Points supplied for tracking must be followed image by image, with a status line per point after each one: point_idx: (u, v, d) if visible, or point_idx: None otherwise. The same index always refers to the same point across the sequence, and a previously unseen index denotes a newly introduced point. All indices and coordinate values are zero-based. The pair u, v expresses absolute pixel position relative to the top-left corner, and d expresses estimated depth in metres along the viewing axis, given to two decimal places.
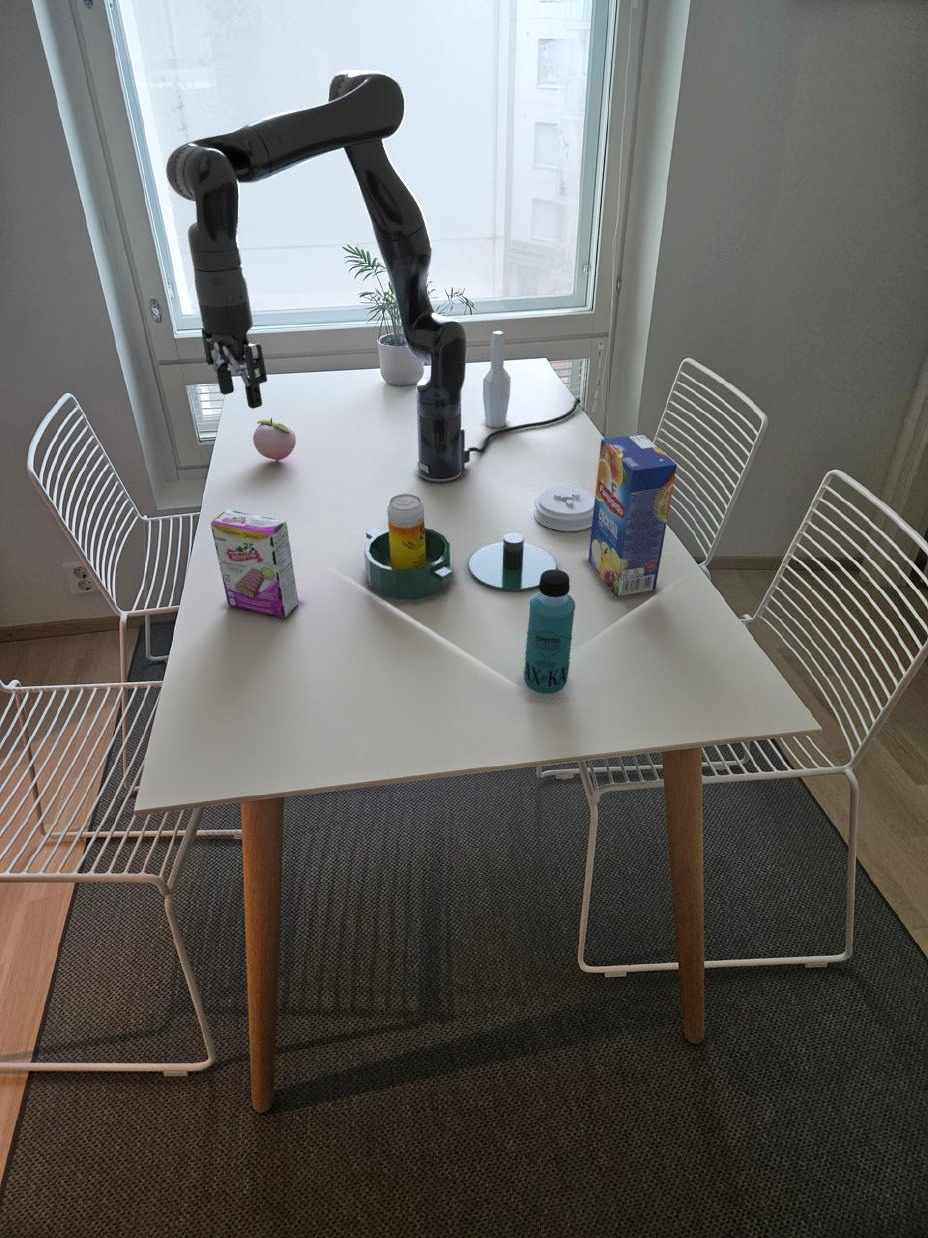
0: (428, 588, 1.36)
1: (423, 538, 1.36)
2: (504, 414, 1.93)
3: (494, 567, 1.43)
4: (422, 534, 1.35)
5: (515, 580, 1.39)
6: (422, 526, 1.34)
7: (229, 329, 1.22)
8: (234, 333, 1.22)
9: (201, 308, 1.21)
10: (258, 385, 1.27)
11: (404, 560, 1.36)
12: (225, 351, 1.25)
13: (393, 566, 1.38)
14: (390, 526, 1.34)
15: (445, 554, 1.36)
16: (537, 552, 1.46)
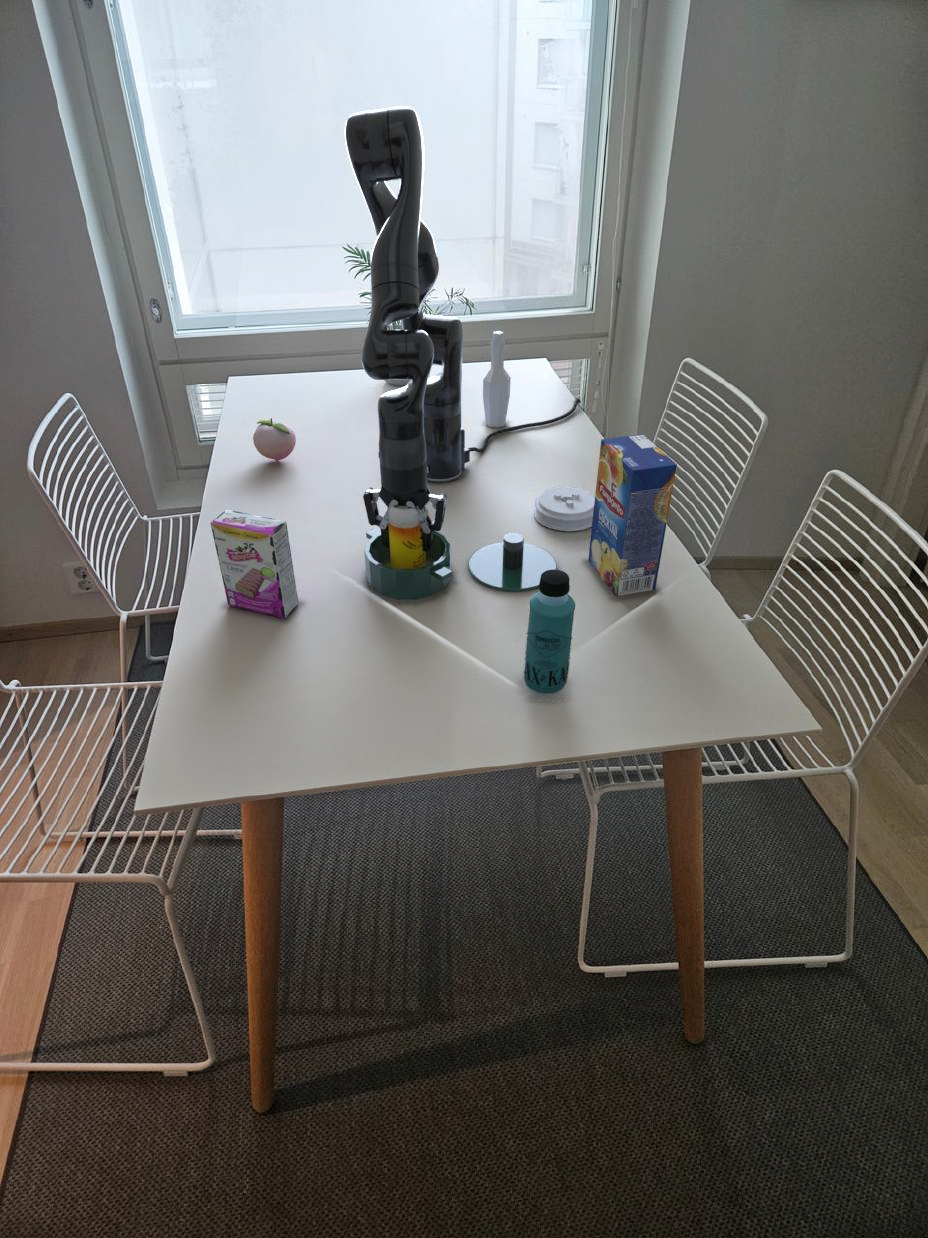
0: (428, 588, 1.36)
1: None
2: (504, 414, 1.93)
3: (494, 567, 1.43)
4: (422, 534, 1.35)
5: (515, 580, 1.39)
6: None
7: (421, 485, 1.28)
8: (424, 487, 1.29)
9: (395, 473, 1.26)
10: None
11: (404, 560, 1.36)
12: (410, 505, 1.31)
13: (393, 566, 1.38)
14: (390, 526, 1.34)
15: (445, 554, 1.36)
16: (537, 552, 1.46)
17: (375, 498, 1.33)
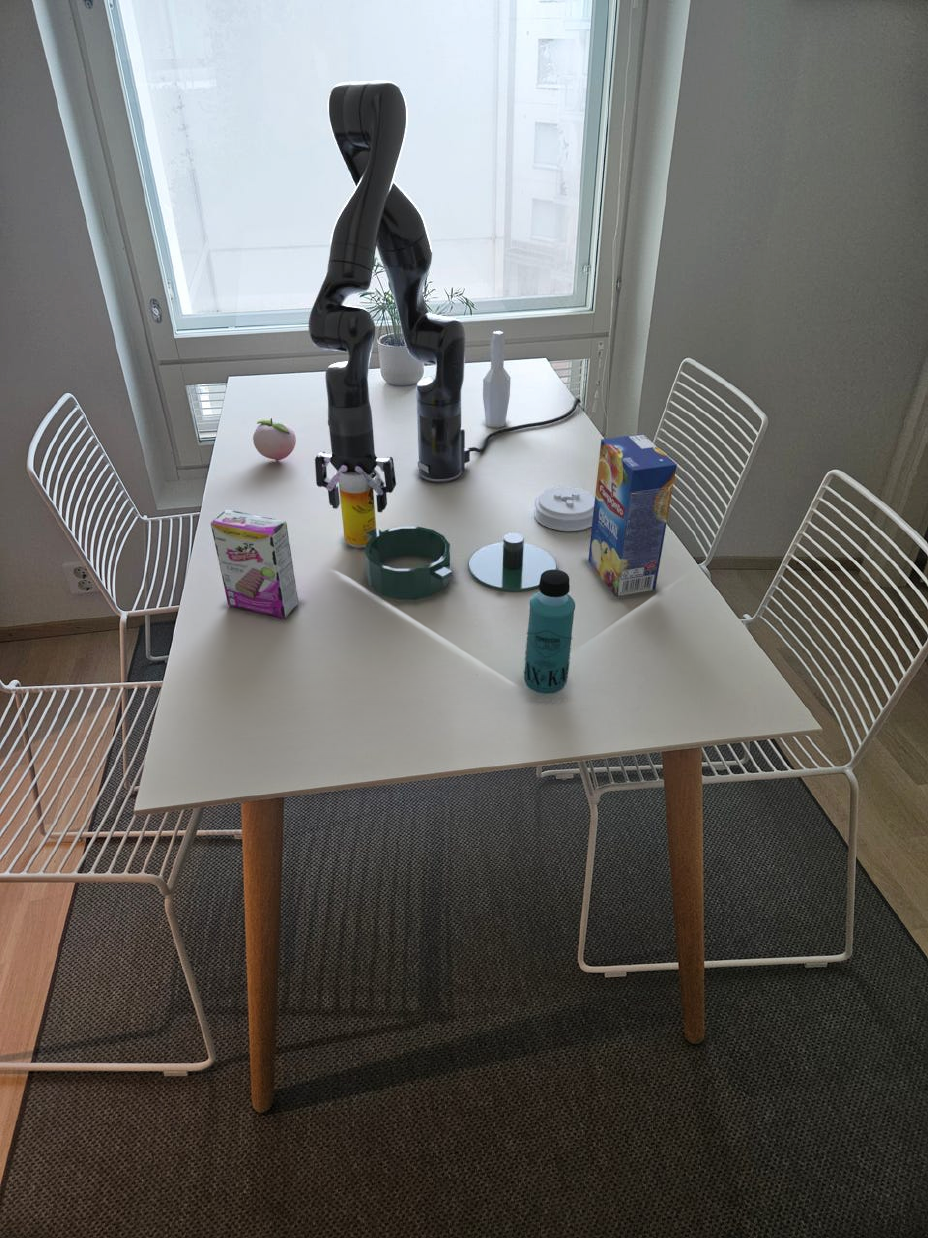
0: (428, 588, 1.36)
1: (372, 503, 1.46)
2: (504, 414, 1.93)
3: (494, 567, 1.43)
4: (371, 499, 1.45)
5: (515, 580, 1.39)
6: (371, 492, 1.45)
7: (368, 451, 1.39)
8: (370, 453, 1.40)
9: (342, 439, 1.36)
10: None
11: (354, 524, 1.47)
12: (358, 470, 1.41)
13: (345, 530, 1.49)
14: (341, 492, 1.44)
15: (445, 554, 1.36)
16: (537, 552, 1.46)
17: (326, 462, 1.43)
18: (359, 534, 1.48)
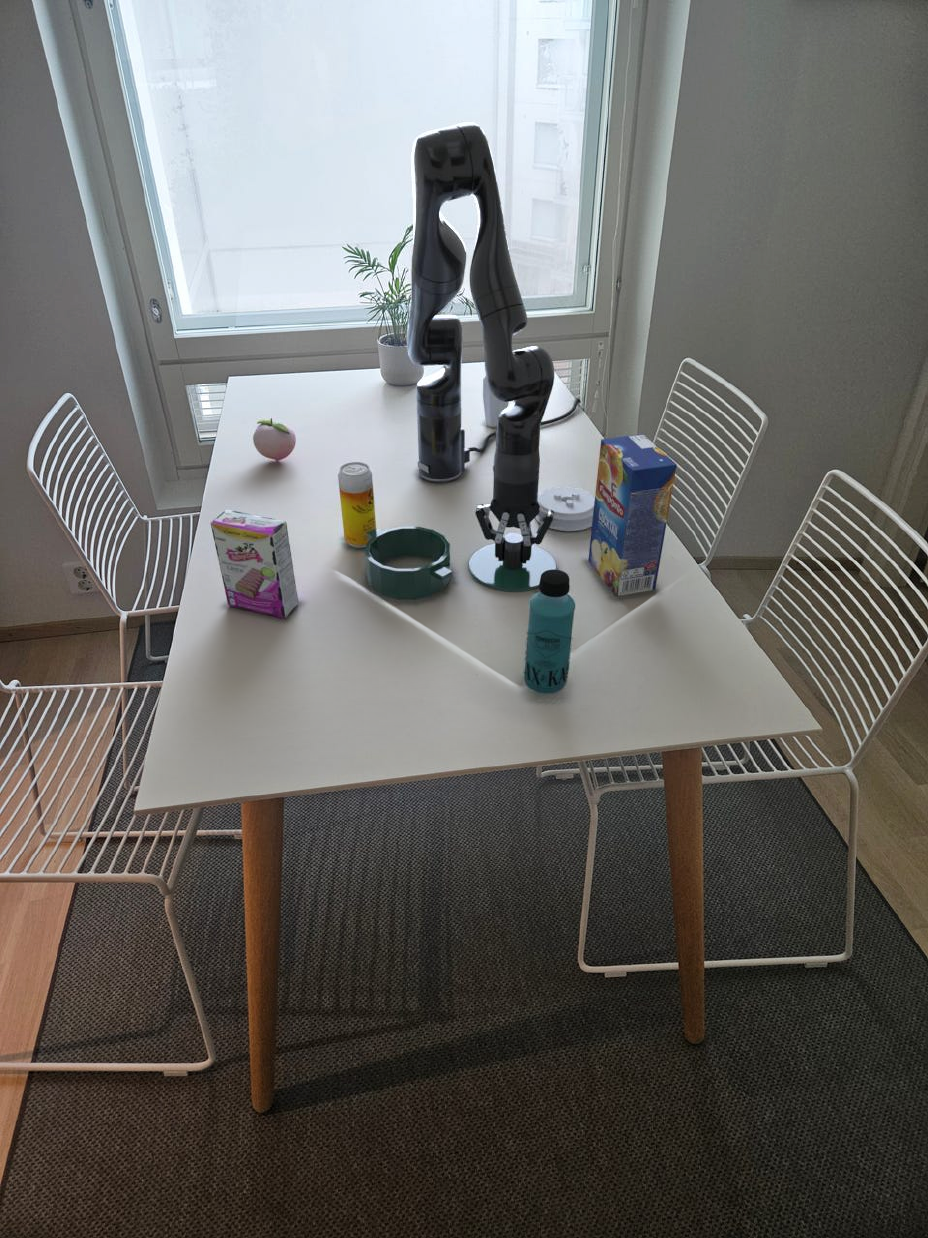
0: (428, 588, 1.36)
1: (372, 503, 1.46)
2: None
3: (494, 567, 1.43)
4: (371, 499, 1.45)
5: (515, 580, 1.39)
6: (370, 492, 1.45)
7: (534, 498, 1.33)
8: (535, 500, 1.34)
9: (510, 487, 1.30)
10: None
11: (354, 524, 1.47)
12: (520, 518, 1.35)
13: (345, 530, 1.49)
14: (341, 492, 1.44)
15: (445, 554, 1.36)
16: (537, 552, 1.46)
17: (487, 513, 1.38)
18: (359, 534, 1.48)
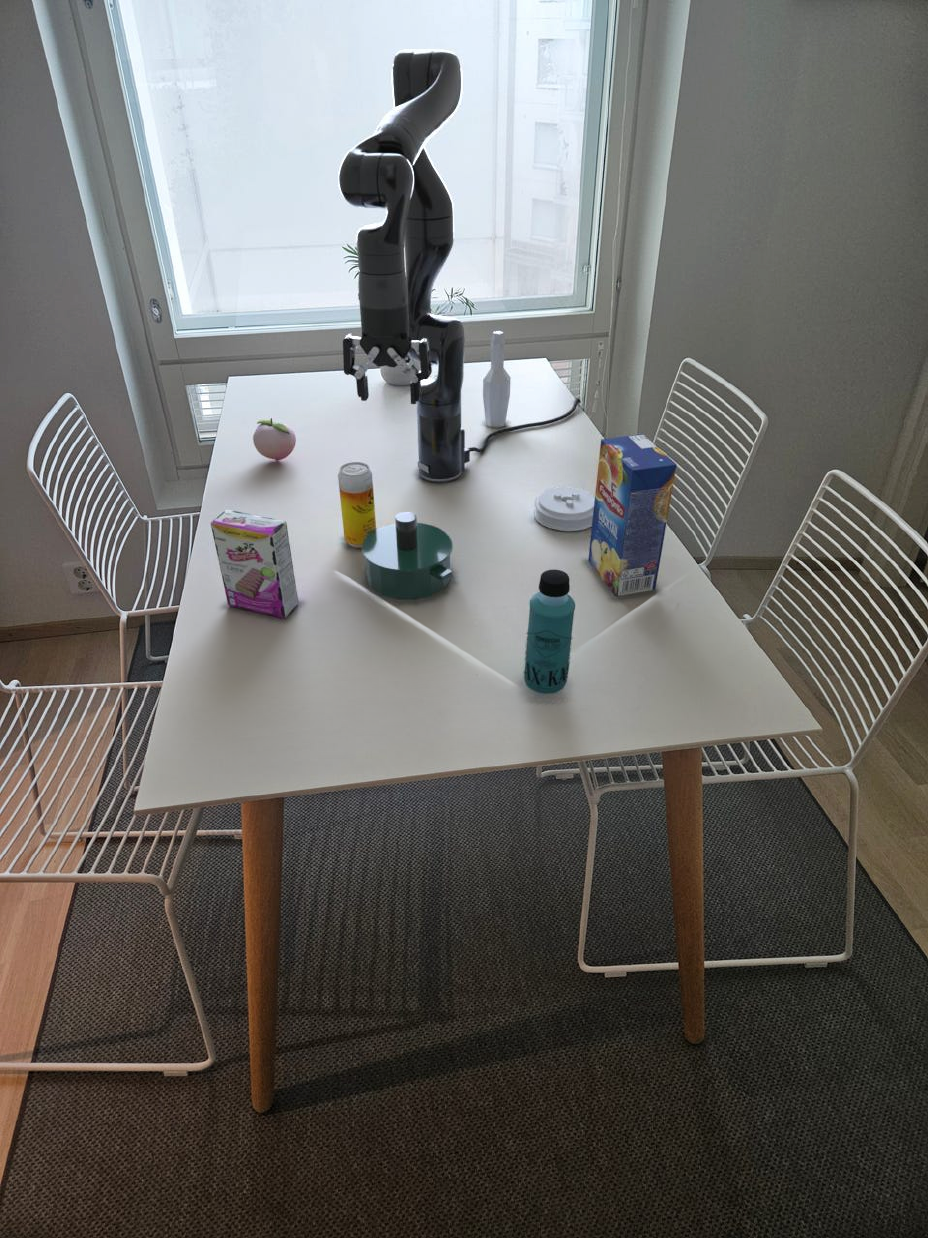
0: (428, 588, 1.36)
1: (372, 503, 1.46)
2: (504, 414, 1.93)
3: (387, 548, 1.37)
4: (371, 499, 1.45)
5: (406, 561, 1.34)
6: (370, 492, 1.45)
7: (403, 329, 1.25)
8: (405, 332, 1.26)
9: (375, 313, 1.22)
10: None
11: (354, 524, 1.47)
12: (391, 353, 1.27)
13: (345, 530, 1.49)
14: (341, 492, 1.44)
15: None
16: (435, 533, 1.41)
17: (355, 345, 1.29)
18: (359, 534, 1.48)
